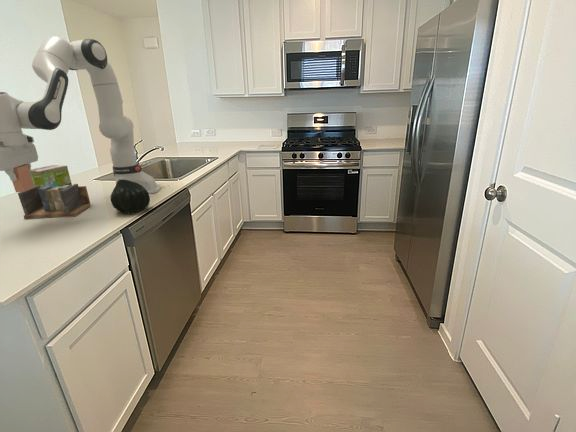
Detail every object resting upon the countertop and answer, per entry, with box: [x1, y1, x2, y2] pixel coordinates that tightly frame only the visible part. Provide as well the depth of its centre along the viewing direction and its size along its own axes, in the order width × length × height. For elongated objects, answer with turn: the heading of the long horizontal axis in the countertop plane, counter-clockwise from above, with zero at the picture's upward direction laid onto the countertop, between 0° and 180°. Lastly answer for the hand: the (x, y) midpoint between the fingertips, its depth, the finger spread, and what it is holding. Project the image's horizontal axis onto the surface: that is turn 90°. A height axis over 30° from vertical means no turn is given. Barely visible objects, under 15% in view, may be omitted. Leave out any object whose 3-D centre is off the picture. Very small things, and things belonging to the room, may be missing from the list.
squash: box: [110, 179, 151, 215], centre depth 136 cm, size 14×15×15 cm
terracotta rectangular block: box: [11, 165, 35, 193], centre depth 117 cm, size 3×6×9 cm, turn 8°
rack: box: [17, 183, 92, 220], centre depth 136 cm, size 20×14×12 cm
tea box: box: [31, 164, 73, 188], centre depth 161 cm, size 15×10×15 cm, turn 168°
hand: (21, 178), depth 117 cm, fingers closed on terracotta rectangular block, 6 cm apart
